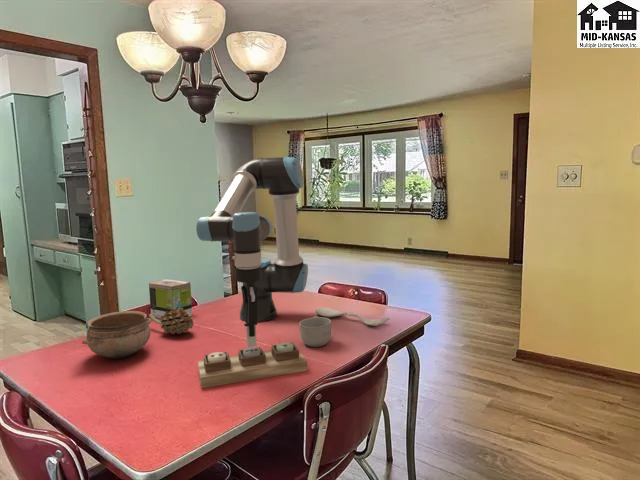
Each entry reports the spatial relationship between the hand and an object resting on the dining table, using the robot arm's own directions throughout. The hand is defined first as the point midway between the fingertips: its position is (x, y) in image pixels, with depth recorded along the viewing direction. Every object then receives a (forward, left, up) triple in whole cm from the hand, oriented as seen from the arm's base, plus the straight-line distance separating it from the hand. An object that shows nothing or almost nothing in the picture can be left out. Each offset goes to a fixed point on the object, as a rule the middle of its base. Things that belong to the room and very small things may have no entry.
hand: (251, 345), depth 128 cm
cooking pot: (-28, -38, -8) cm, 48 cm away
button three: (0, 0, -4) cm, 4 cm away
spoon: (-33, +45, -8) cm, 56 cm away
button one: (0, +10, -4) cm, 11 cm away
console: (0, 0, -8) cm, 8 cm away
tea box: (-67, -22, -8) cm, 71 cm away
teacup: (-15, +25, -8) cm, 30 cm away
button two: (0, -10, -4) cm, 11 cm away
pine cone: (-45, -23, -8) cm, 51 cm away
